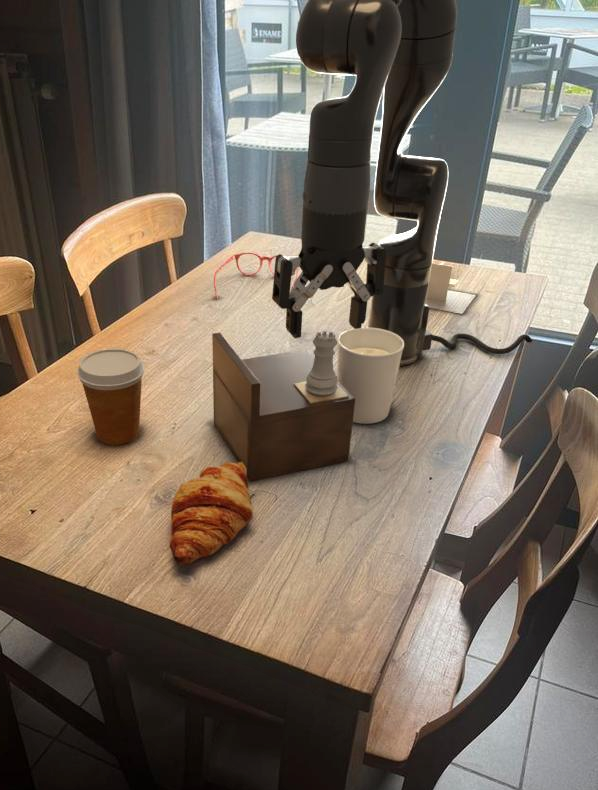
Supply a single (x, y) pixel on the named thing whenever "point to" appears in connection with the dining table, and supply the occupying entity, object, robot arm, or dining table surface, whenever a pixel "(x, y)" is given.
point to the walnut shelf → (277, 412)
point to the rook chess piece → (322, 366)
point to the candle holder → (369, 370)
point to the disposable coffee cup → (113, 393)
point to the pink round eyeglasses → (249, 274)
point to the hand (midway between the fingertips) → (325, 330)
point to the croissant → (209, 511)
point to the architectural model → (445, 291)
